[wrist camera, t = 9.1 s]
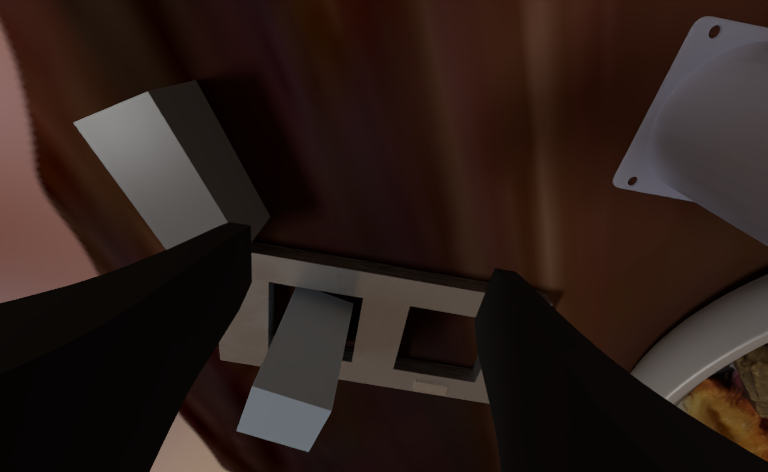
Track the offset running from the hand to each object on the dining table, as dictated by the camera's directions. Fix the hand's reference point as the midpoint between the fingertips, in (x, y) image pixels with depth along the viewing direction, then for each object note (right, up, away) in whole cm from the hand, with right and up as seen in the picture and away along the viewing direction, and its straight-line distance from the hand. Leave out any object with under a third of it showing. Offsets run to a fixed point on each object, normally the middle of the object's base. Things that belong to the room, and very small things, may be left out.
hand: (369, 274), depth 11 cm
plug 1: (-10, +5, +10) cm, 15 cm away
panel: (0, -5, +15) cm, 15 cm away
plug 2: (-4, -4, +15) cm, 16 cm away
